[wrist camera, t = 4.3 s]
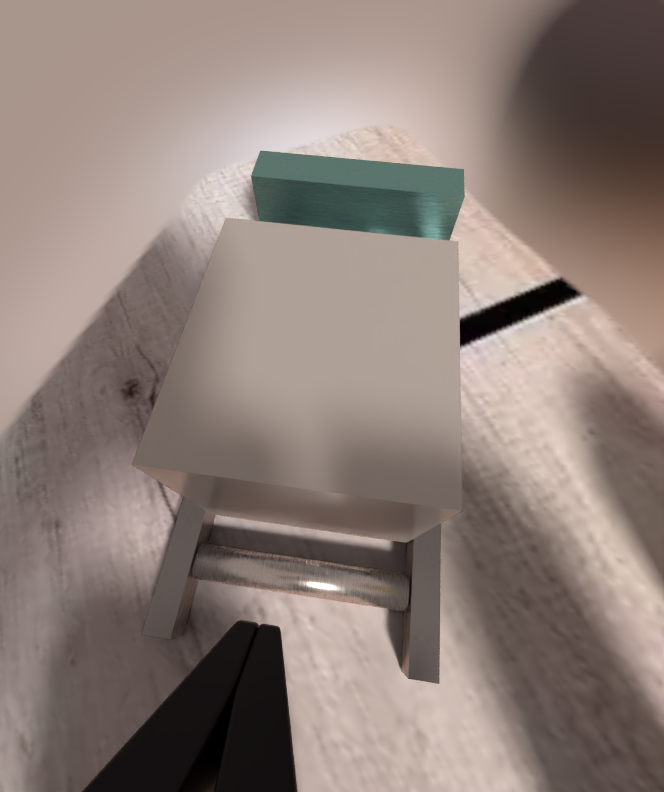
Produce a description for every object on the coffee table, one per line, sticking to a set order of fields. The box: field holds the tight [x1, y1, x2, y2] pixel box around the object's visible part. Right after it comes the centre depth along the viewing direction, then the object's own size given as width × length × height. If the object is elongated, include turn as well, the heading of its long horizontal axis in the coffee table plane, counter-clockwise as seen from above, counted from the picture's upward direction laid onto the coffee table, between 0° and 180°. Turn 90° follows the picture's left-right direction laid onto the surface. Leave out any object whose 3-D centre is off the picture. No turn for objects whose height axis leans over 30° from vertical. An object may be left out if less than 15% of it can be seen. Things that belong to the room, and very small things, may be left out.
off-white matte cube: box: [132, 218, 462, 543], centre depth 16 cm, size 10×9×8 cm
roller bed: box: [141, 151, 465, 684], centre depth 20 cm, size 12×25×6 cm, turn 172°
